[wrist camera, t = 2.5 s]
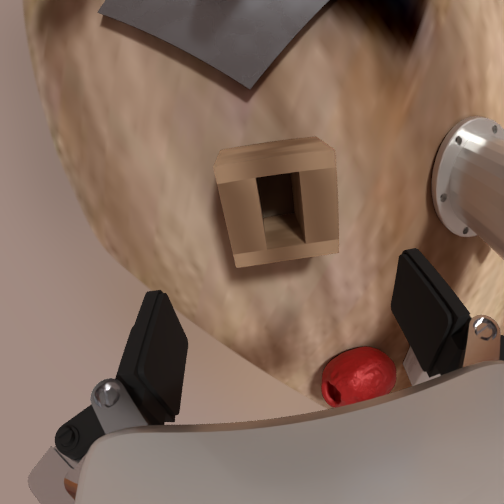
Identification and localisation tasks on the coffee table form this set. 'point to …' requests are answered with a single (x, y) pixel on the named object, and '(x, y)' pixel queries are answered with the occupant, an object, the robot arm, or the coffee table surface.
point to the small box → (415, 369)
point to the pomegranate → (357, 376)
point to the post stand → (221, 29)
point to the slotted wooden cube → (304, 196)
